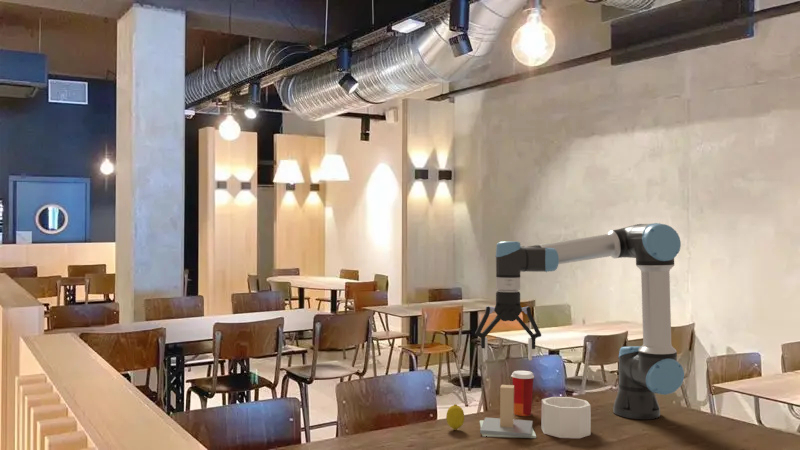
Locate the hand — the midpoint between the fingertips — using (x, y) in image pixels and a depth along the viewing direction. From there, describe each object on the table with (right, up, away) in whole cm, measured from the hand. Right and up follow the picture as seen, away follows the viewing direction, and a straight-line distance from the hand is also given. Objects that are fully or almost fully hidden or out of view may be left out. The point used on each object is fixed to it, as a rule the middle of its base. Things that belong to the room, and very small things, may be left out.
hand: (508, 359), depth 216 cm
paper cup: (+8, -22, +19) cm, 30 cm away
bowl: (+18, -22, -1) cm, 28 cm away
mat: (0, -22, 0) cm, 22 cm away
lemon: (-16, -22, -1) cm, 27 cm away
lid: (0, -21, -1) cm, 21 cm away
